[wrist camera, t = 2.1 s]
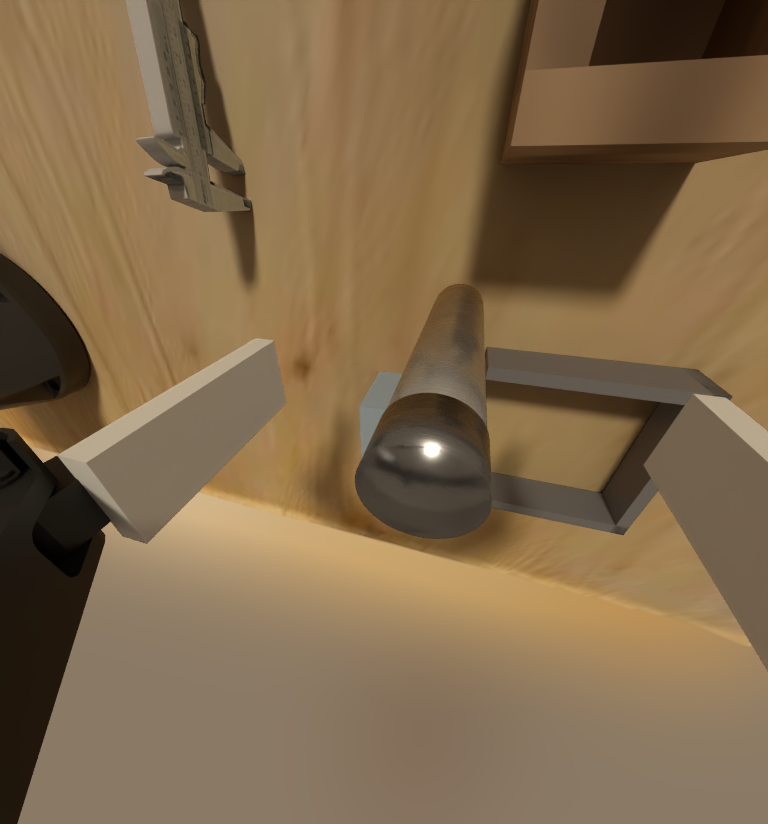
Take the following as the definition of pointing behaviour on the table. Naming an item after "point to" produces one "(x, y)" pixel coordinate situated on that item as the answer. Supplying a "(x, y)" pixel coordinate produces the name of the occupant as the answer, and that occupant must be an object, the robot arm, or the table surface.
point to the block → (376, 405)
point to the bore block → (640, 82)
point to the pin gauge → (435, 430)
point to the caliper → (180, 109)
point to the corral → (631, 478)
